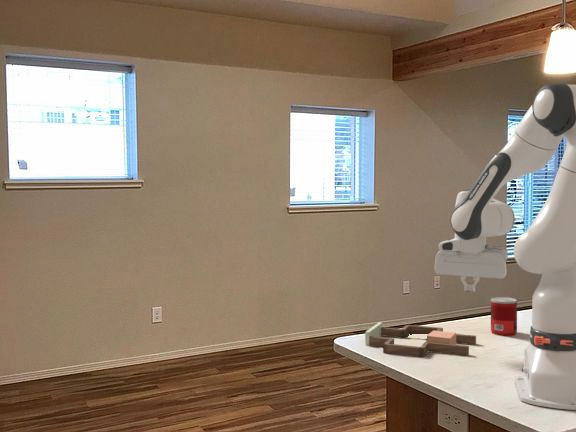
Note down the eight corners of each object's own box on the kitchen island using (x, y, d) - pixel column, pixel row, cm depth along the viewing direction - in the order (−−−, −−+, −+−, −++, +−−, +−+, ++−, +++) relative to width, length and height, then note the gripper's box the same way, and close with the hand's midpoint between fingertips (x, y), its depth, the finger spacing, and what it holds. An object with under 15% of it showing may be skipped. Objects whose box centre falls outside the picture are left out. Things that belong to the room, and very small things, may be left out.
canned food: (520, 335, 198) (520, 301, 197) (495, 336, 198) (495, 302, 197) (512, 329, 205) (512, 296, 204) (487, 330, 205) (487, 297, 205)
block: (450, 351, 183) (449, 338, 182) (426, 348, 186) (426, 335, 186) (456, 345, 189) (456, 332, 188) (433, 343, 192) (433, 330, 192)
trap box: (464, 361, 172) (464, 347, 172) (358, 349, 186) (358, 336, 185) (479, 338, 195) (479, 326, 195) (384, 330, 208) (384, 318, 208)
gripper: (509, 244, 180) (508, 292, 181) (438, 241, 189) (437, 286, 190) (506, 247, 174) (505, 296, 175) (433, 244, 183) (432, 290, 184)
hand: (469, 291), depth 183 cm, fingers closed
